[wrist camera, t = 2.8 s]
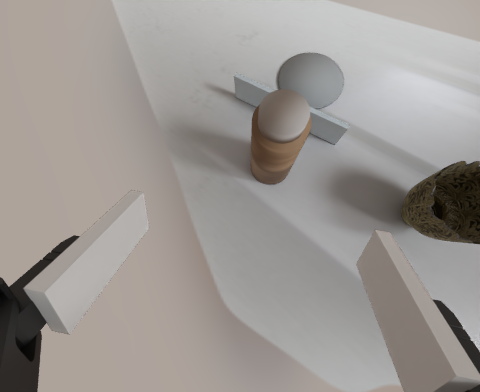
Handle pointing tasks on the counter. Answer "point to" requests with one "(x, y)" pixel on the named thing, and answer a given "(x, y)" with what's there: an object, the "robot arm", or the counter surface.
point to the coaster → (313, 78)
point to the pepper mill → (278, 134)
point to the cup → (447, 204)
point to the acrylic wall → (320, 121)
